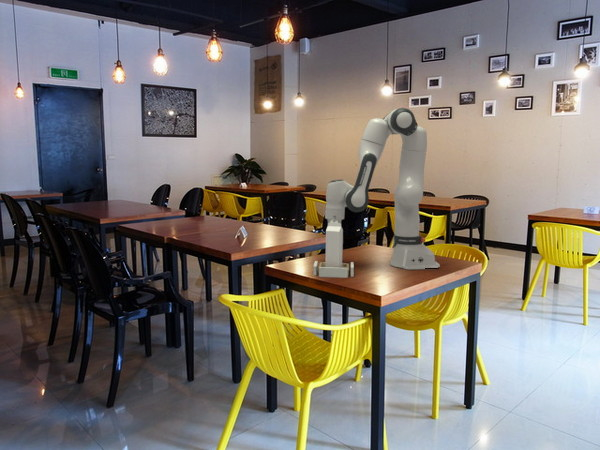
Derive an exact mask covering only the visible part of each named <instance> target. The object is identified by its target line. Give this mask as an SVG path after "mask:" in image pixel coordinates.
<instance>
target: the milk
mask: <svg viewBox="0 0 600 450" xmlns="http://www.w3.org/2000/svg"><path fill="white" fill-rule="evenodd" d="M343 244H344V229H343V227H342V222H341V223H330V222H327V227H326V230H325V267H333V268H342V263H343V249H344V247H343V246H344V245H343Z"/></svg>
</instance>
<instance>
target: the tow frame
mask: <svg viewBox="0 0 600 450" xmlns="http://www.w3.org/2000/svg"><path fill="white" fill-rule="evenodd" d="M319 267H325V262H321V261H320V262H318V270H317V276H318V277H319ZM342 268H348V278H349V277H350V263H349V262H342Z"/></svg>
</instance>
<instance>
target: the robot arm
mask: <svg viewBox="0 0 600 450" xmlns="http://www.w3.org/2000/svg"><path fill="white" fill-rule="evenodd" d="M390 135H400V137H401V141H402V142H401V143H402V145H401V151H400V159H399V171H398V172H399V173H398V184H397V185H396V186H395V188H394V234H393V239H392V246H393V250H392V256H391V259H390V262H389V264H390V266H392V267H396V268H400V269H403V270H426V269H425V268H438V267H441V265H440V263H439V262H437V261H436V257H435V254H434V252H433V251H432V250H431V249H430V248H428V247H427V246H426V245H425V244H424V243H425V242H426V238H424V237H422V236H421V235H420V221H421V219H420V207H419V206H420V205H419V204H420V203H421V202H422V200H423V197H424V187H425V185H424V183H425V165H426V164H425V163H426V156H427V149H428V148H427V147H428V136H427V135H428V134H427V131H426V128H425V127H422V126H419V125H418V123H417V120H416V117H415V114H414V113H413V112H412V110H410V109H408V108H406V107H401V108H395V109H393V110H392V111H390V112H389V113H387V114H386V115H385V117H383V118H379V117H377V118H376V117H375V118H372V119H370V120H369V121H368V123H367V125H366V127H365V128H364V131H363V133H362V136H361V138H360V141H359V146H358V153H357V154H358V160H359V170H358V173H357V175H356V179H355V183H354V185H352V184H350V183H348V182H347V181H346V180H344V179H334V180H331V181H329V182H328V184H327V187H326V191H325V192H326V193H325V200H326V205H325V208H324V209H325V212H324V213H325V214H324V219H326V220H327V223H341V224H342V220H345V214H346V213H345V212H346V211H345V209H346V208H348V210H350V211H351V212H353V213H360V212H363V211H364V210H366V209H367V207H368V206H369V203H370V197H369V189H370V185H371V182H372V179H373V176H374V175H373V174H374V171H375V169H376V167H377V165H378V163H379V161H380V159H381V156H382V154H383V152H384V149H385V146H386V143H387V141H388V138H389V137H390Z"/></svg>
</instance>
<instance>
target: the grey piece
mask: <svg viewBox="0 0 600 450" xmlns="http://www.w3.org/2000/svg"><path fill="white" fill-rule="evenodd" d="M354 265H355V264H354V261H351V262H350V269H349V272H350V277H351V278H352V277H353V278H354V276H355V275H354V274H355V273H354V267H355V266H354ZM318 267H319V262H318V260H315V261H314V263H313V271H312V273H313V274H312V275H313V276H314V277H315V276H317V275H318ZM318 277H319V278H338V279H339V278H340V279H341V278H342V279H343V278H344V279H345V278H346V279H348V278H349V277H348V268H333V267H319V276H318Z"/></svg>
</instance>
